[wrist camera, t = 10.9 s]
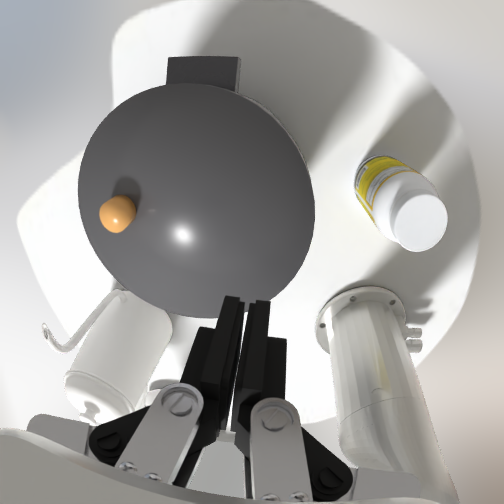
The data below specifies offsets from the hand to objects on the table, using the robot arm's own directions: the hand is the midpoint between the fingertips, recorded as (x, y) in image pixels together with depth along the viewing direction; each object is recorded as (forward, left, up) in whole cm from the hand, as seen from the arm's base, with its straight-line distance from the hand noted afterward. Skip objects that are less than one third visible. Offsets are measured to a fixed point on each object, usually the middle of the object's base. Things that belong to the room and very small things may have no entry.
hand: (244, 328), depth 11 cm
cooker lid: (+5, 0, -10) cm, 11 cm away
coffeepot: (+16, +22, -22) cm, 35 cm away
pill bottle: (-12, -1, -22) cm, 25 cm away
